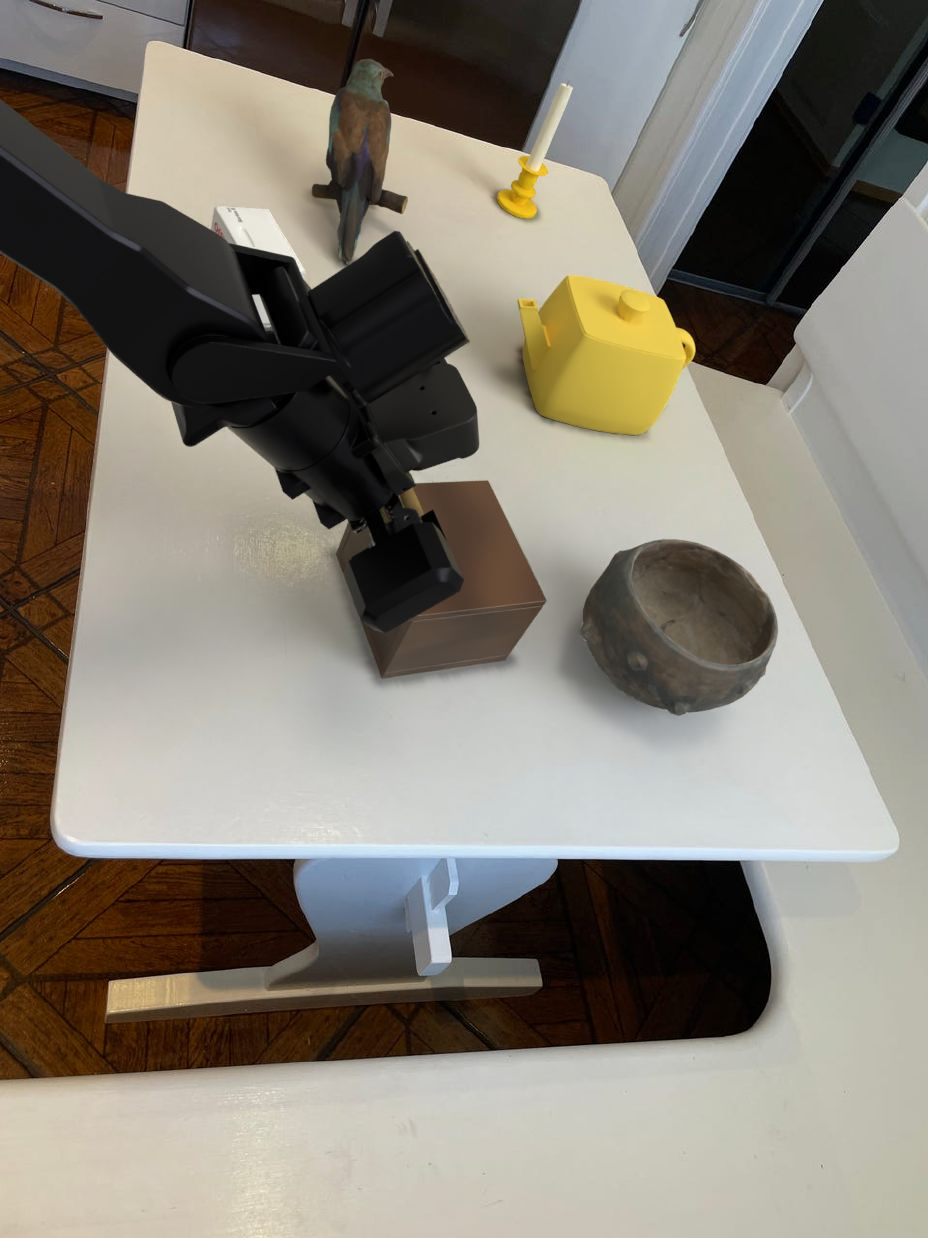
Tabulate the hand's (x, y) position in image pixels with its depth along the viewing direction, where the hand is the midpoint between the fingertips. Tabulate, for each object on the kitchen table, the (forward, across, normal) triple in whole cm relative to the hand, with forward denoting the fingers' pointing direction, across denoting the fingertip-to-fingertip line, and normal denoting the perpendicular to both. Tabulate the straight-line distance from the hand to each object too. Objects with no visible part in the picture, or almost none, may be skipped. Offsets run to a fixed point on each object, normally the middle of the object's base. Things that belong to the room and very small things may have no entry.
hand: (421, 539), depth 65 cm
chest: (+8, 0, +4) cm, 9 cm away
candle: (+33, +58, -20) cm, 69 cm away
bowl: (+20, -8, -8) cm, 23 cm away
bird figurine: (+16, +52, -4) cm, 54 cm away
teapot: (+27, +25, -15) cm, 40 cm away
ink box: (+3, +29, +10) cm, 30 cm away
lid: (+3, 0, -1) cm, 3 cm away
